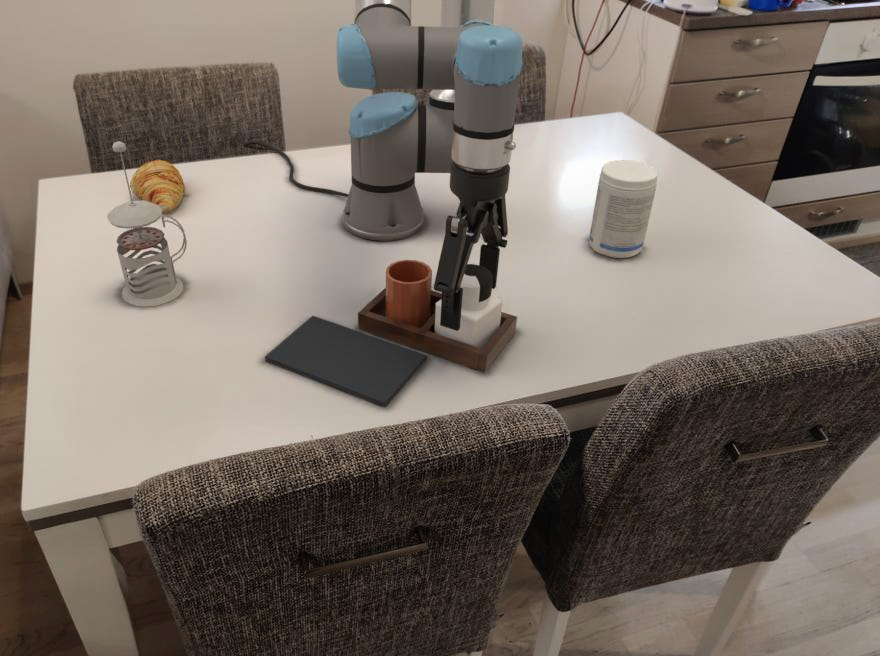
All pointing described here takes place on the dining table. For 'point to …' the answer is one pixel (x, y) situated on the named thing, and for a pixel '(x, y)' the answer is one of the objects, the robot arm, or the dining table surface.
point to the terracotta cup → (408, 292)
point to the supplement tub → (622, 208)
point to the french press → (153, 279)
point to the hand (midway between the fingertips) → (469, 305)
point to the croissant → (158, 184)
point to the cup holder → (428, 339)
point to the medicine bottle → (474, 309)
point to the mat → (347, 360)
